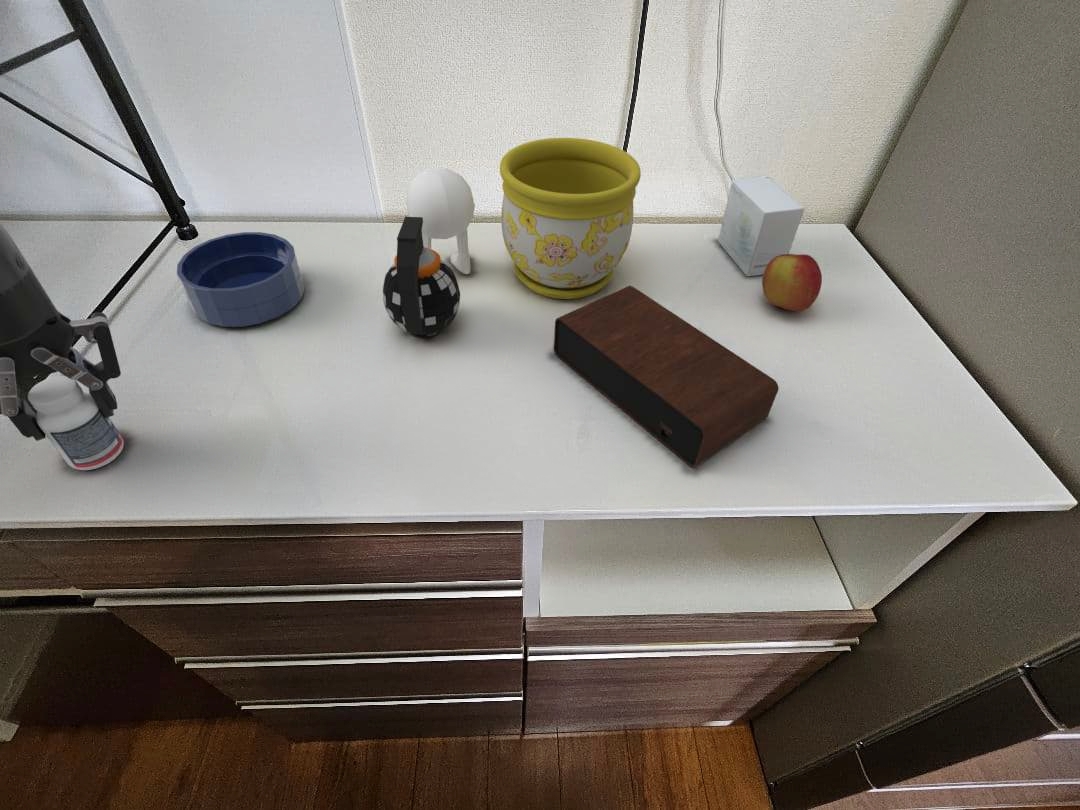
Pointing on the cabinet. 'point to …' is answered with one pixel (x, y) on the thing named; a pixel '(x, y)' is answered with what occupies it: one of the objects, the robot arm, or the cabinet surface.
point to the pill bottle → (75, 423)
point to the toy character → (443, 210)
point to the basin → (241, 278)
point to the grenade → (419, 285)
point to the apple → (792, 281)
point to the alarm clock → (664, 373)
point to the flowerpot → (567, 213)
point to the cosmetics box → (758, 223)
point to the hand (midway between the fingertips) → (75, 422)
